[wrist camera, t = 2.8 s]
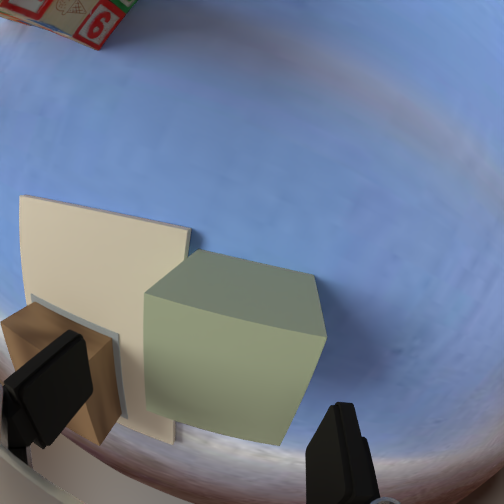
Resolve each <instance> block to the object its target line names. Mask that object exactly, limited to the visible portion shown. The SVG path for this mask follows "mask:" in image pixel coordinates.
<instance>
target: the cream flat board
mask: <svg viewBox="0 0 504 504" xmlns="http://www.w3.org/2000/svg"><path fill="white" fill-rule="evenodd" d="M19 229H20V251H21V264H22V274H23V282H24V290H25V296H26V303H27V306H28V305H29V304H31V303H33V302H37V303H39V304H41V305H43V306H44V307H46V308H48V309H50V310H52V311H54V312H56V313H58V314H60V315H62V316H64V317H66V318H68V319H70V320H72V321H74V322H77V323H79V324H81V325H83V326H85V327H87V328H90V329H92V330H94V331H96V332H99V333H101V334H103V335H106V336H108V337H111V338H112V344H113V355H114V364H115V372H116V380H117V387H118V394H119V400H120V406H121V411H122V414H121V416H120V417H119V419H118V420H117V423H119V424H121V425H123V426H126V427H128V428H130V429H132V430H135V431H137V432H140V433H142V434H145V435H147V436H150V437H152V438H155V439H158V440H160V441H163V442H166V443H169V444H172V445H173V444H174V442H175V421H174V420H171V419H169V418H166V417H163V416H160V415H157V414H155V413H152V412H149V411H147V410H146V397H145V381H144V353H143V311H144V293H145V292H146V291H147V290H148V289H149V288H151V287H152V286H153V285H154V284H155V283H157V282H158V281H159V280H160V279H162V278H163V277H164V276H165V275H166V274H168V273H169V272H170V271H171V270H173V269H174V268H175V267H176V266H178V265H179V264H180V263H181V262H183V261H184V260H185V259H186V258H188V251H189V244H190V236H191V229H192V228H187V227H183V226H178V225H173V224H169V223H164V222H159V221H154V220H149V219H145V218H140V217H135V216H130V215H125V214H120V213H116V212H111V211H106V210H101V209H96V208H91V207H86V206H81V205H76V204H71V203H66V202H61V201H56V200H51V199H46V198H40V197H35V196H30V195H20V204H19Z"/></svg>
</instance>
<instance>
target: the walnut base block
mask: <svg viewBox="0 0 504 504" xmlns="http://www.w3.org/2000/svg"><path fill="white" fill-rule="evenodd" d="M1 326H2V330H3V334H4V337H5V341H6V344H7V347H8V351H9V354H10V357H11V360H12V363H13V365H14V368H15V371H17V370H18V369H19V368H20V367H22V366H23V365H24V364H25V363H26V362H28V361H29V360H30V359H31V358H33V357H34V356H35V355H36V354H38V353H39V352H40V351H41V350H43V349H44V348H45V347H46V346H48V345H49V344H50V343H51V342H53V341H54V340H55V339H57V338H58V337H59V336H60V335H62V334H63V333H64V332H66V331H67V330H70V329H71V330H73V331H75V332H77V333H79V334H81V335H82V336H83V338H84V340H85V341H86V347H87V354H88V360H89V367H90V372H91V378H92V383H93V393H92V395H91V396H90V398H89V399H88V400H87V401H86V402H85V404H84V405H83V406H82V407H81V408H80V410H79V411H78V412H77V413H76V415H75V416H74V417H73V418H72V419H71V421H70V422H69V423H68V424H67V426H66V427H67V428H69V429H71V430H72V431H74V432H76V433H77V434H79V435H81V436H83V437H84V438H86V439H88V440H90V441H91V442H93V443H95V444H97V445H99V446H100V445H101V444H102V442H103V441H104V439H105V438H106V436H107V435H108V433H109V432H110V430H111V429H112V427H113V426H114V425H115V423H116V422H117V420H118V419H119V417H120V416H121V414H122V411H121V406H120V400H119V394H118V387H117V380H116V372H115V364H114V355H113V344H112V338H111V337H108V336H106V335H103V334H101V333H99V332H96V331H94V330H92V329H90V328H87V327H85V326H83V325H81V324H79V323H77V322H74V321H72V320H70V319H68V318H66V317H64V316H62V315H60V314H58V313H56V312H54V311H52V310H50V309H48V308H46V307H44V306H43V305H41V304H39V303H37V302H33V303H31V304H29V305H28V306H26V307H24V308H23V309H21V310H19V311H18V312H16V313H14V314H13V315H11V316H9V317H8V318H6V319H4V320H3V321H1Z"/></svg>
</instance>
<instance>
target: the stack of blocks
mask: <svg viewBox="0 0 504 504" xmlns="http://www.w3.org/2000/svg"><path fill="white" fill-rule="evenodd" d="M137 1H138V0H0V17H2V18H5V19H9V20H12V21H15V22H19V23H23V24H26V25H30V26H36V27H39V28H42V29H46V30H49V31H51V32H54V33H56V34H58V35H61V36H63V37H66V38H69V39H71V40H73V41H75V42H78V43H80V44H83V45H85V46H87V47H90V48H92V49H94V50H100V48H101V47H102V45H103V44H104V43H105V41H106V40H107V38H108V37H109V36H110V34H111V33H112V32H113V30H114V29H115V28H116V26H117V25H118V24H119V23H120V21H121V20H122V19H123V18H124V17H125V15H126V13H127V12H128V11H129V10H130V9H131V8H132V6H133V5H134V4H135V3H136V2H137Z"/></svg>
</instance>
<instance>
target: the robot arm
mask: <svg viewBox="0 0 504 504" xmlns="http://www.w3.org/2000/svg"><path fill="white" fill-rule="evenodd" d="M4 384H5V385H4V386H2V385H1V383H0V504H86V503H85V502H83V501H81V500H79V499H77V498H76V497H74V496H72V495H71V494H69V493H67V492H66V491H64V490H62V489H61V488H59V487H58V486H56V485H54V484H53V483H52V482H50V481H48V480H47V479H46V478H44V477H43V476H41V475H40V474H39V473H37V472H36V471H34V470H33V466H32V458H31V450H30V445H31V443H32V442H34V443H35V444H36V445H38V446H39V447H41V448H42V449H44V448H45V447H46V446H50V445H51V444H52V443H53V442H54V440H55V439H56V438H57V437H58V435H59V434H60V433H61V432H62V430H63V429H64V428H65V427H66V426H67V424H68V423H69V422H70V421H71V419H72V418H73V417H74V416H75V415H76V413H77V412H78V411H79V410H80V408H81V407H82V406H83V405H84V404H85V402H86V401H87V400H88V399H89V398H90V396H91V395H92V393H93V383H92V378H91V372H90V367H89V360H88V354H87V347H86V341H85V340H84V338H83V336H82V335H81V334H79V333H77V332H75V331H73V330H71V329H70V330H67V331H66V332H64V333H63V334H62V335H60V336H59V337H58V338H57V339H55V340H54V341H53V342H51V343H50V344H49V345H48V346H46V347H45V348H44V349H43V350H41V351H40V352H39V353H38V354H36V355H35V356H34V357H33V358H31V359H30V360H29V361H28V362H26V363H25V364H24V365H23V366H22V367H20V368H19V369H18V370H17V371H15V372H14V373H13V374H12V375H11V376H9V377H8V378H7V379H6V380H5V381H4ZM305 457H306V504H401V503H400V502H398V501H397V500H395V499H392V498H387V497H383V498H380V494H379V489H378V484H377V479H376V475H375V470H374V466H373V462H372V457H371V453H370V449H369V445H368V442H367V439H366V438H365V437H361V432H360V428H359V424H358V420H357V416H356V412H355V408H354V405H353V404H352V403H345V402H336V403H335V405H331V406H330V407H329V409H328V411H327V413H326V414H325V416H324V418H323V420H322V422H321V424H320V425H319V427H318V429H317V431H316V433H315V434H314V436H313V438H312V439H311V441H310V443H309V445H308V446H307V449H306V454H305Z"/></svg>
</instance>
